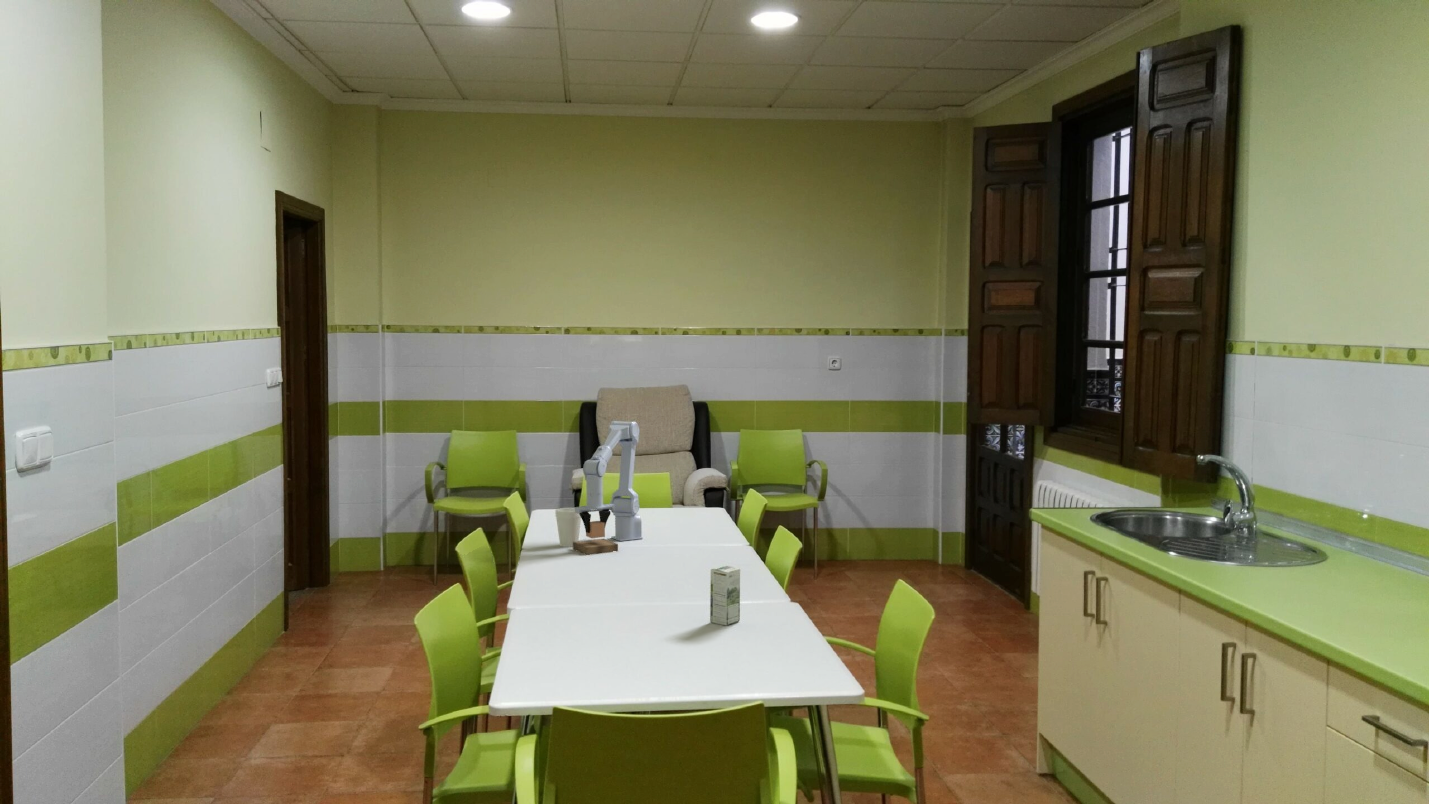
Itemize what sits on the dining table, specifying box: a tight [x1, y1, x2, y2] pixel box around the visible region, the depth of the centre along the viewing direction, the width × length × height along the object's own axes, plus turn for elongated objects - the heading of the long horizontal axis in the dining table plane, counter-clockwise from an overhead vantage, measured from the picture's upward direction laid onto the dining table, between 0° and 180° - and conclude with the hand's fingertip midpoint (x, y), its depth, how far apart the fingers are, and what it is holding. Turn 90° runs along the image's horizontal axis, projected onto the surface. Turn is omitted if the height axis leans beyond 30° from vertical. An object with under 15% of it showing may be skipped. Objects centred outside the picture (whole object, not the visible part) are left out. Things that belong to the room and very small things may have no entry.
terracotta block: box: [585, 520, 606, 539], centre depth 374 cm, size 5×5×5 cm
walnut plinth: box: [572, 538, 619, 556], centre depth 375 cm, size 12×12×3 cm
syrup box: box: [709, 565, 741, 626], centre depth 279 cm, size 6×6×14 cm
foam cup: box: [555, 507, 582, 548], centre depth 383 cm, size 10×9×13 cm
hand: (595, 531), depth 375 cm, fingers closed on terracotta block, 5 cm apart
